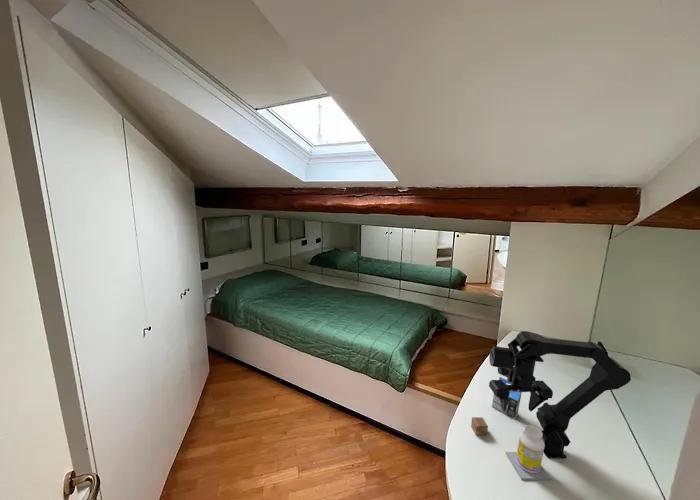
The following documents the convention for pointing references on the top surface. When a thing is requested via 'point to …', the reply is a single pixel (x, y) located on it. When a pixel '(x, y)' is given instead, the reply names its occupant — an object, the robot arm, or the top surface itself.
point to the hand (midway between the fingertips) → (516, 410)
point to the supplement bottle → (530, 449)
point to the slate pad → (524, 474)
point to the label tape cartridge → (512, 404)
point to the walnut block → (479, 426)
